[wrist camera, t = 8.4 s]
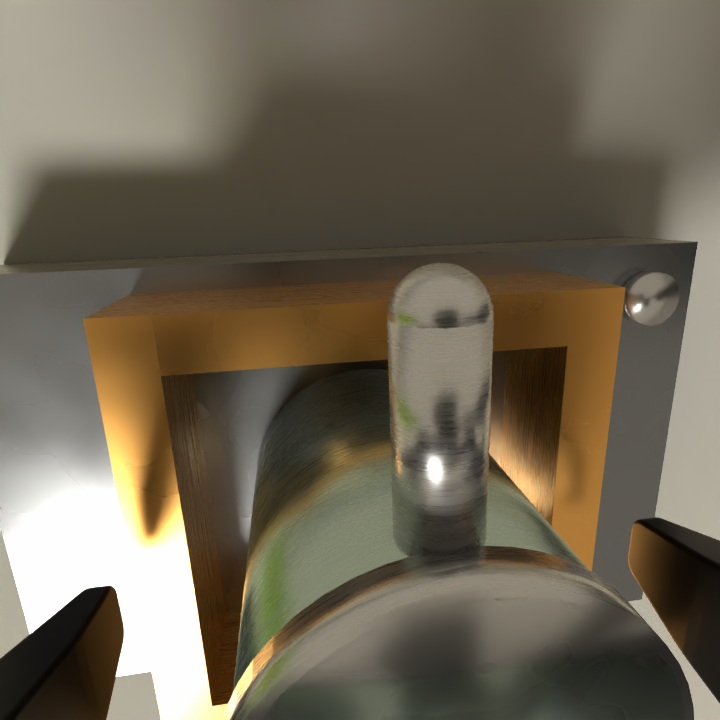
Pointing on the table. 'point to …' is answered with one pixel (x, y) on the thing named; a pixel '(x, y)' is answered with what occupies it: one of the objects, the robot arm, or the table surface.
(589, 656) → the spout can
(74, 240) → the table surface
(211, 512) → the grey orange socket fixture
